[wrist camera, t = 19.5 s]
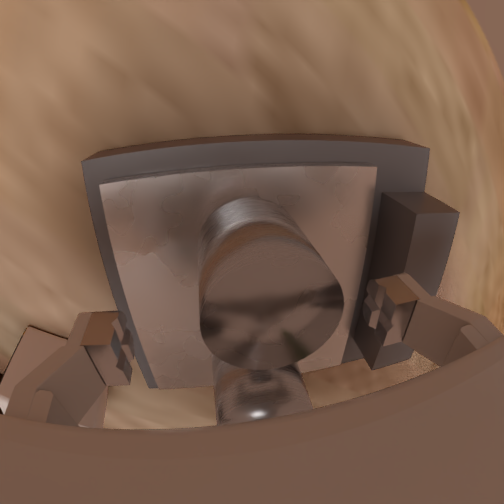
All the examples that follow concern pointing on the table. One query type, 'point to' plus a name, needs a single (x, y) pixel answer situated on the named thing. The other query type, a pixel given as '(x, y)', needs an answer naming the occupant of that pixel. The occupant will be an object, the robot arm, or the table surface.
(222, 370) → the cylinder
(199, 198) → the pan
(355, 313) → the scale
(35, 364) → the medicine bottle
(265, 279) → the cylinder
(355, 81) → the table surface
